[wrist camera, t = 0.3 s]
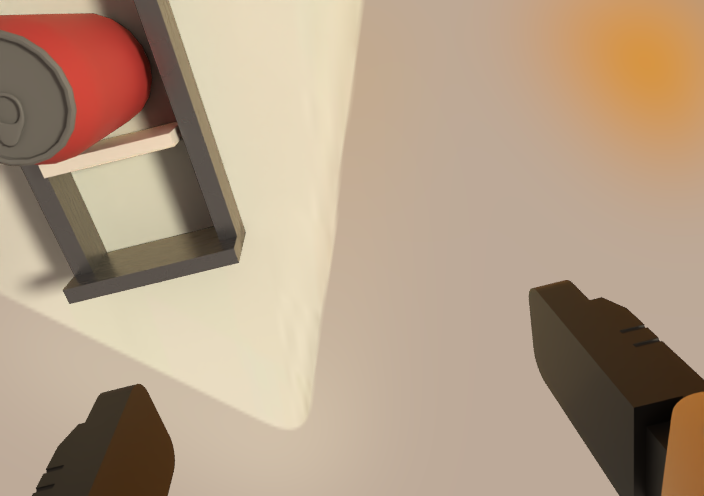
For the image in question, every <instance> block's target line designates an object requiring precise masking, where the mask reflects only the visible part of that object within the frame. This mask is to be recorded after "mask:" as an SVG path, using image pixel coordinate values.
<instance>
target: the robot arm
mask: <svg viewBox="0 0 704 496" xmlns="http://www.w3.org/2000/svg"><path fill="white" fill-rule="evenodd" d="M529 305H530V316H531V326H532V336H533V347H534V354H535V359H536V362H537V365H538V368H539V371H540V373H541V376H542V378H543V380H544V381H545V383H546V384H547V386H548V388H549V389H550V391H551V392H552V394H553V395H554V397H555V398H556V400H557V401H558V403H559V404H560V406H561V407H562V409H563V410H564V412H565V413H566V415H567V416H568V418H569V420H570V421H571V423H572V424H573V426H574V427H575V429H576V430H577V432H578V433H579V435H580V436H581V438H582V439H583V441H584V442H585V444H586V445H587V447H588V448H589V450H590V451H591V453H592V455H593V456H594V458H595V459H596V461H597V462H598V464H599V465H600V467H601V468H602V470H603V471H604V473H605V474H606V476H607V477H608V479H609V480H610V482H611V484H612V485H613V487H614V488H615V490H616V491H617V493H618V494H619V496H704V380H703V379H702V378H701V377H700V376H699V375H698V374H697V373H696V372H695V371H694V370H693V369H692V368H691V367H689V366H688V365H687V364H686V363H685V362H684V361H683V360H682V359H681V358H680V357H679V356H677V354H675V353H674V352H673V351H672V350H671V349H670V348H669V347H668V346H667V345H666V344H665V343H664V342H662V341H661V342H660V341H659V339H658V337H657V336H656V335H655V334H654V333H653V332H652V331H651V330H649V328H645V327H644V324H643V323H642V322H641V321H640V320H639V319H638V318H637V317H636V316H634V315H633V314H632V313H631V312H630V311H629V310H628V309H627V308H625V307H623V306H620V305H618V304H616V303H613V302H611V301H609V300H607V299H604V298H602V297H601V298H597V299H593V300H589V299H588V298H587V297H586V296H585V295H584V294H583V293H582V292H581V291H580V290H579V289H578V288H577V287H576V286H575V285H574V284H573V283H572V282H571V281H569V280H565V281H560V282H556V283H552V284H548V285H544V286H540V287H536V288H532V289H531V290H530V291H529ZM174 466H175V455H174V449H173V444H172V441H171V438H170V436H169V434H168V432H167V430H166V428H165V426H164V424H163V422H162V420H161V418H160V416H159V414H158V412H157V410H156V408H155V406H154V404H153V402H152V400H151V398H150V395H149V393H148V392H147V390H146V389H145V387H144V386H143V385H141V384H136V385H132V386H128V387H124V388H120V389H116V390H111V391H107V392H104V393H101V394H100V395H99V396H98V398H97V400H96V402H95V404H94V406H93V408H92V410H91V412H90V414H89V416H88V418H87V420H86V422H85V423H82V424H78V425H77V427H76V428H75V429H74V430H73V431H72V432H71V433H70V434H69V435H68V436H67V437H66V438H65V439H64V441H63V442H62V443H61V444H60V445H59V446H58V448H57V450H56V451H55V453H54V455H53V457H52V459H51V461H50V463H49V465H48V466H47V468H46V470H47V473H45V474H43V476H42V478H41V480H40V482H39V484H38V485H37V487H36V489H37V492H36V493H33V495H32V496H168V492H169V488H170V484H171V480H172V476H173V472H174Z"/></svg>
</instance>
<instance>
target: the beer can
mask: <svg viewBox="0 0 704 496" xmlns="http://www.w3.org/2000/svg"><path fill="white" fill-rule="evenodd" d="M151 84H152V76H151V69H150V63H149V60H148V58H147V56H146V54H145V52H144V50H143V47H142V45H141V44H140V43H139V42H138V41H137V39H136V38H135V37H134V36H133V35H132V34H131V32H130V31H129V30H127V29H126V28H124V27H123V26H121V25H120V24H118V23H117V22H115V21H114V20H112V19H110V18H107V17H103V16H100V15H97V14H94V13H88V14H36V15H0V163H2V164H5V165H9V166H24V165H46V164H57V163H59V162H62V161H65V160H68V159H70V158H73V157H76V156H78V155H79V154H81V153H82V152H83V151H85V150H86V149H88V148H89V147H91V146H92V145H94V144H95V143H97V142H98V141H100V140H101V139H103V138H104V137H106V136H107V135H109V134H110V133H112V132H113V131H115V130H116V129H118V128H119V127H121V126H122V125H124V124H125V123H127V122H128V121H130V120H131V119H132V118H133V117H134V116H136V115H137V114H138V113H139V112H140V111H141V110H142V109H143V107H144V105H145V103H146V102H147V100H148V98H149V95H150V90H151Z"/></svg>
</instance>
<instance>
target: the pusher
mask: <svg viewBox="0 0 704 496" xmlns="http://www.w3.org/2000/svg"><path fill="white" fill-rule="evenodd" d="M181 139H182V135H181V132H180V129H179V126H178V123H177V122H174V123H170V124H165V125H161V126H157V127H153V128H149V129H145V130H141V131H137V132H133V133H129V134H125V135H121V136H116V137H112V138H108V139H104V140H100V141H98V142H97V143H95V144H94V145H92V146H91V147H89V148H88V149H86V150H85V151H83V152H82V153H81V154H79V155H78V156H76V157H73V158H70V159H68V160H65V161H62V162H59V163H57V164H46V165H38V166H39V168H40V170H41V173H42V175H43V177H44V178H48V177H52V176H56V175H60V174H64V173H69V172H73V171H77V170H81V169H85V168H89V167H93V166H97V165H101V164H105V163H109V162H113V161H118V160H122V159H126V158H130V157H134V156H138V155H142V154H146V153H150V152H154V151H158V150H163V149H167V148H171V147H174V146H175V145H176V144H177V143H178V142H179V141H180V140H181Z"/></svg>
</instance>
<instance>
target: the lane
mask: <svg viewBox="0 0 704 496" xmlns="http://www.w3.org/2000/svg"><path fill="white" fill-rule="evenodd" d="M134 3H135V5H136V8H137V11H138V14H139V17H140V20H141V22H142V25H143V28H144V31H145V34H146V36H147V39H148V42H149V45H150V48H151V50H152V53H153V56H154V59H155V62H156V64H157V67H158V70H159V73H160V76H161V78H162V81H163V84H164V87H165V90H166V93H167V95H168V98H169V101H170V104H171V107H172V109H173V112H174V115H175V118H176V121H177V123H178V126H179V129H180V132H181V135H182V137H183V140H184V143H185V146H186V149H187V151H188V154H189V157H190V160H191V163H192V165H193V168H194V171H195V174H196V177H197V180H198V182H199V185H200V188H201V191H202V194H203V196H204V199H205V202H206V205H207V208H208V210H209V213H210V216H211V219H212V222H213V224H214V227H210V228H206V229H202V230H198V231H194V232H190V233H186V234H182V235H177V236H173V237H169V238H165V239H161V240H157V241H153V242H149V243H145V244H141V245H136V246H132V247H128V248H124V249H120V250H116V251H112V252H108V253H107V251H106V249H105V247H104V245H103V243H102V240H101V238H100V236H99V234H98V232H97V229H96V227H95V225H94V223H93V221H92V219H91V216H90V214H89V212H88V210H87V208H86V205H85V203H84V201H83V199H82V197H81V194H80V192H79V190H78V188H77V186H76V183H75V181H74V179H73V177H72V175H71V172H69V173H64V174H60V175H56V176H52V177H48V178H44V177H43V175H42V173H41V170H40V168H39V166H38V165H24V166H21V168H22V170H23V172H24V174H25V176H26V178H27V180H28V182H29V184H30V186H31V188H32V190H33V192H34V194H35V197H36V199H37V201H38V203H39V205H40V207H41V209H42V211H43V213H44V215H45V217H46V219H47V221H48V223H49V225H50V227H51V229H52V231H53V233H54V235H55V237H56V239H57V241H58V243H59V245H60V247H61V249H62V251H63V253H64V255H65V257H66V259H67V261H68V263H69V265H70V267H71V270H72V272H73V274H74V277H73V278H72V280H71V281H70V282H69V283H68V284H67V286H66V287H65V288H64V289H63V292H64V294H65V296H66V298H67V300H68V302H69V304H71V303H75V302H80V301H84V300H88V299H92V298H96V297H100V296H104V295H108V294H112V293H117V292H121V291H125V290H129V289H133V288H137V287H141V286H145V285H149V284H153V283H158V282H162V281H166V280H170V279H174V278H178V277H182V276H186V275H190V274H194V273H199V272H203V271H207V270H211V269H215V268H219V267H223V266H227V265H231V264H236V263H239V260H240V255H241V251H242V247H243V242H244V238H245V233H246V232H245V229H244V226H243V223H242V220H241V217H240V214H239V211H238V208H237V205H236V202H235V199H234V196H233V193H232V190H231V187H230V184H229V181H228V178H227V175H226V172H225V169H224V166H223V163H222V160H221V157H220V154H219V151H218V148H217V145H216V142H215V139H214V136H213V133H212V130H211V127H210V124H209V121H208V118H207V115H206V112H205V109H204V106H203V103H202V100H201V97H200V94H199V91H198V88H197V85H196V82H195V79H194V76H193V73H192V70H191V67H190V64H189V60H188V57H187V54H186V51H185V48H184V45H183V42H182V39H181V36H180V33H179V30H178V27H177V24H176V21H175V18H174V15H173V12H172V9H171V6H170V3H169V0H134Z"/></svg>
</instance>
